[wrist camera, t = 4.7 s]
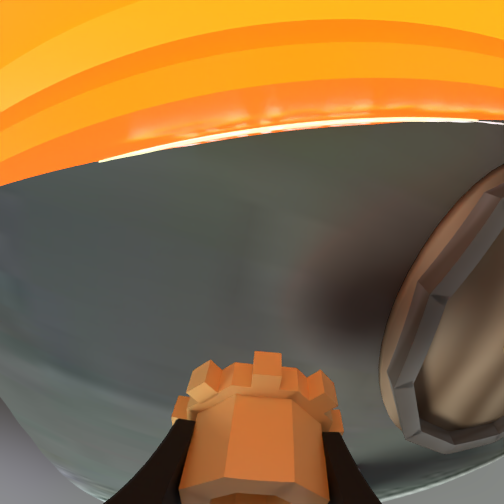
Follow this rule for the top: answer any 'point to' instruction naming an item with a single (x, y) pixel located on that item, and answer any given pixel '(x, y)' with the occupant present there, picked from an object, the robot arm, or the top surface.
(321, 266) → the top surface
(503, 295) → the wooden tray
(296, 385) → the planet gear
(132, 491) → the robot arm
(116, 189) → the top surface
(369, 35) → the orange juice
